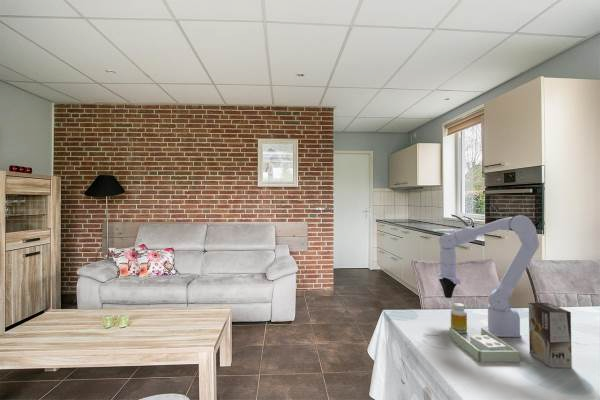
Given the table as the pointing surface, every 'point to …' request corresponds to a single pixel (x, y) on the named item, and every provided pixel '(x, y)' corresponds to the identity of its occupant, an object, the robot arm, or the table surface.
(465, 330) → the supplement bottle
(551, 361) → the coffee box
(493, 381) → the table surface
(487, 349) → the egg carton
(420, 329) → the table surface
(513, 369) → the table surface
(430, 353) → the table surface
